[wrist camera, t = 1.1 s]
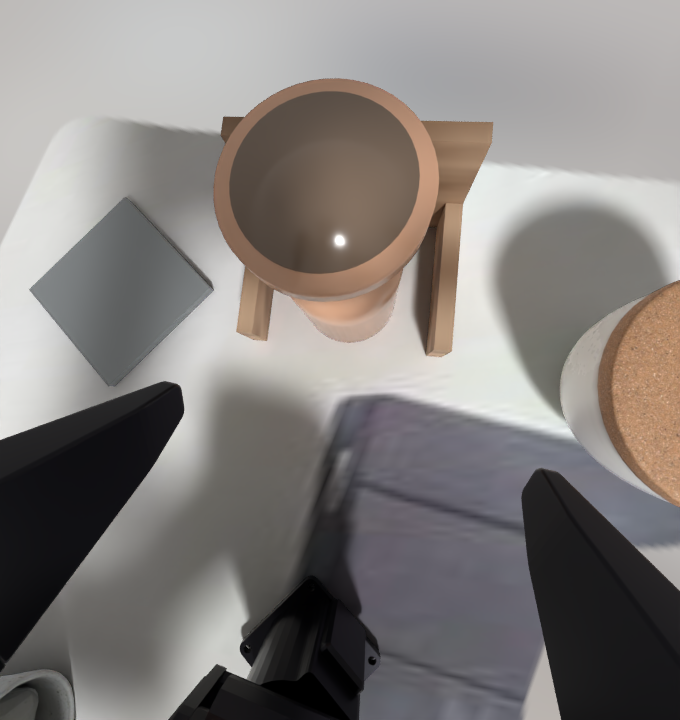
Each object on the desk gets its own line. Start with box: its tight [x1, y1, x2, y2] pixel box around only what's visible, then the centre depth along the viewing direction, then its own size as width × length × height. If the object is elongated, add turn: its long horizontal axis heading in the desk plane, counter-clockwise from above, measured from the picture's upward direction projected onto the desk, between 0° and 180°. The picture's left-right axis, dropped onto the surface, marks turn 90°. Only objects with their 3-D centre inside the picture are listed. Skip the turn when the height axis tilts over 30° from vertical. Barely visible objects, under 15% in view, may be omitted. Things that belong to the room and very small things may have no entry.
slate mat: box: [29, 197, 213, 386], centre depth 25 cm, size 10×10×1 cm
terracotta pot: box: [214, 79, 439, 343], centre depth 17 cm, size 7×7×13 cm
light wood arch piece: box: [221, 117, 493, 357], centre depth 20 cm, size 10×13×8 cm
